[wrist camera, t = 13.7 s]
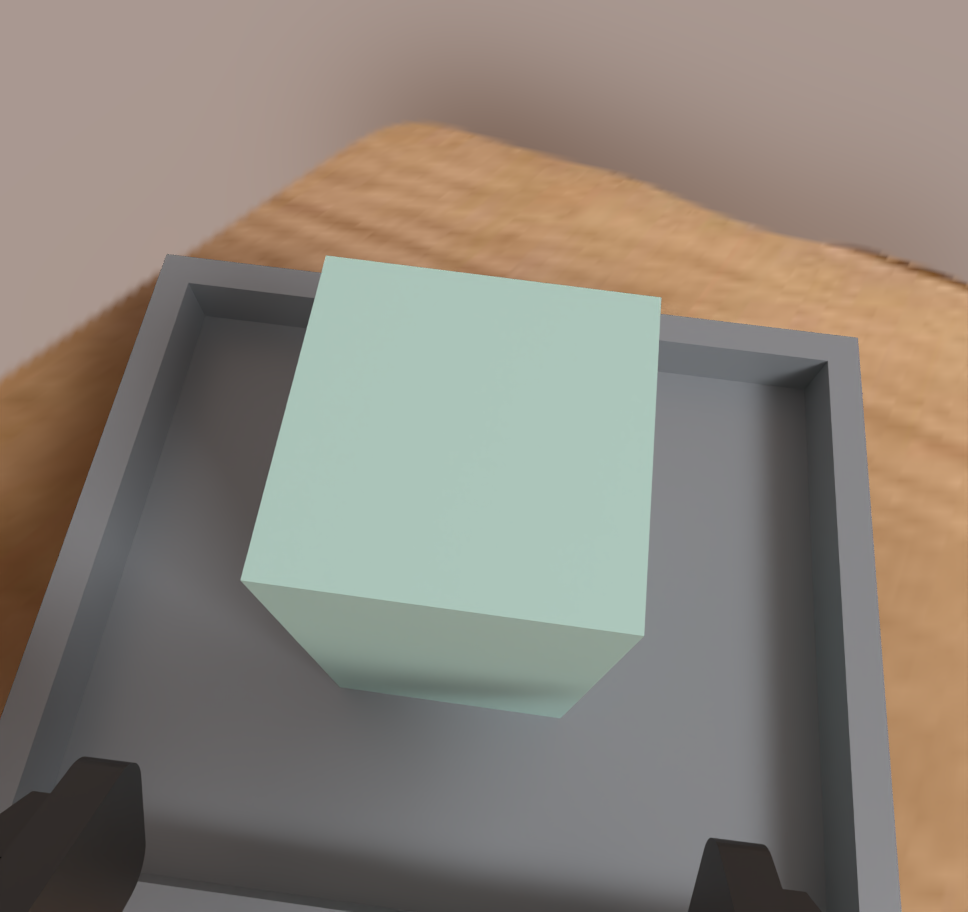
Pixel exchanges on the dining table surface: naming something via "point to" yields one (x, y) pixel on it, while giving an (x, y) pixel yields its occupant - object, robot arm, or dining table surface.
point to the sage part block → (463, 486)
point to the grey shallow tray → (455, 727)
